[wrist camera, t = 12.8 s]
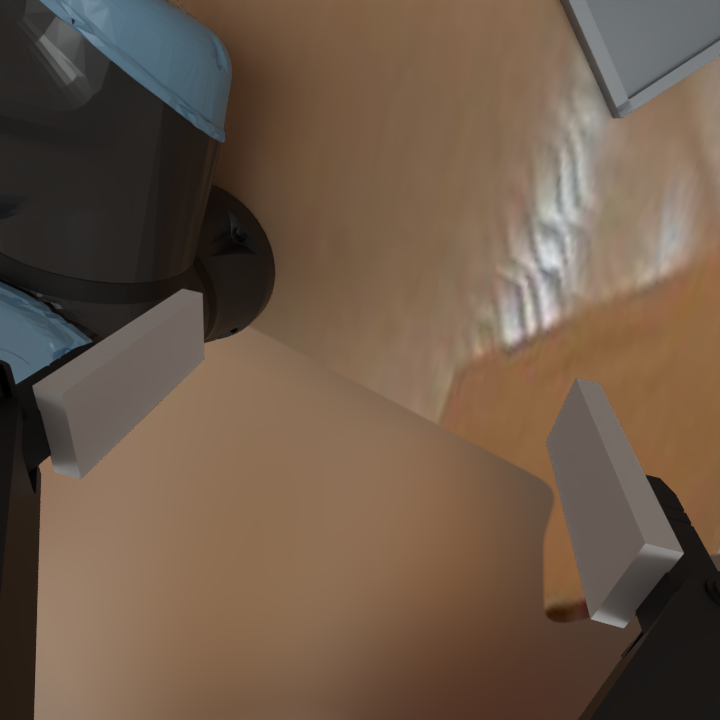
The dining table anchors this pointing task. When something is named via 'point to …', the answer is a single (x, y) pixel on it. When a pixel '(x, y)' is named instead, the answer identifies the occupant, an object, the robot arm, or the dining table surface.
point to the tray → (644, 44)
